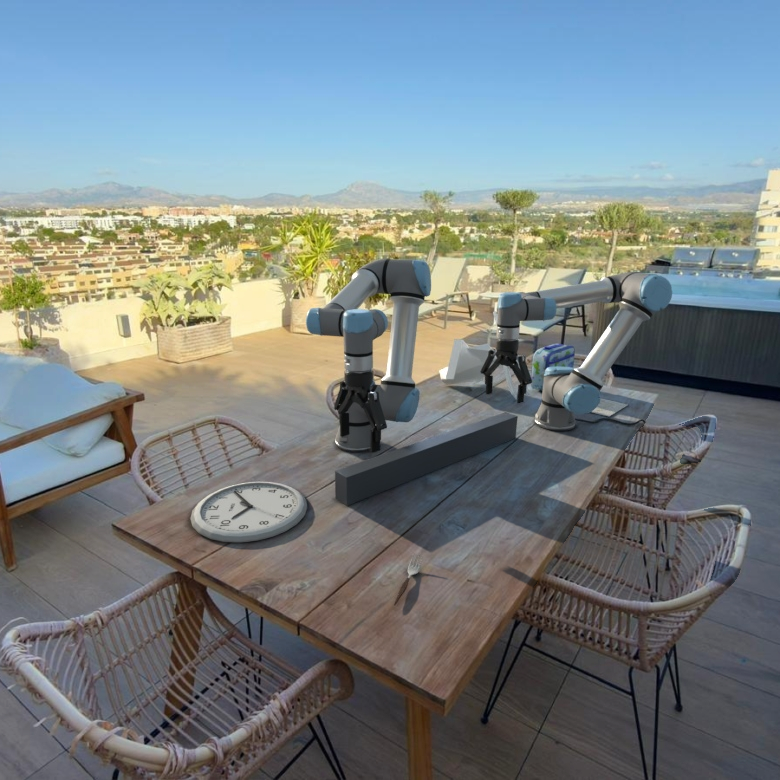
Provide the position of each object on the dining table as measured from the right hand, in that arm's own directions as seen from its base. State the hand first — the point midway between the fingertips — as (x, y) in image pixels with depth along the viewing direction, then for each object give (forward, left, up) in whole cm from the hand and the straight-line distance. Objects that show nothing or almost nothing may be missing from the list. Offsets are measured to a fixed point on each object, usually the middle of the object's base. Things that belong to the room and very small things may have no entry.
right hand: (504, 398), depth 184 cm
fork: (+27, +84, -16) cm, 90 cm away
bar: (+22, +24, -16) cm, 36 cm away
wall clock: (+71, +60, -16) cm, 94 cm away
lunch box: (-29, -70, -16) cm, 77 cm away
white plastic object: (+5, -57, -16) cm, 59 cm away
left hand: (+43, +47, 0) cm, 64 cm away
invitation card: (-46, -45, -16) cm, 66 cm away
